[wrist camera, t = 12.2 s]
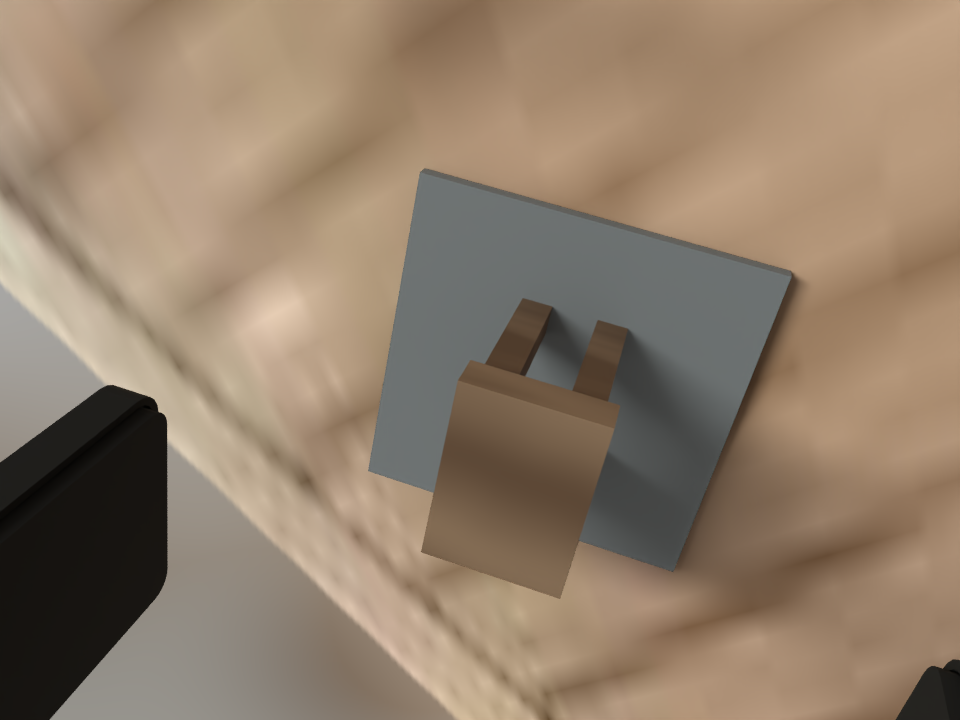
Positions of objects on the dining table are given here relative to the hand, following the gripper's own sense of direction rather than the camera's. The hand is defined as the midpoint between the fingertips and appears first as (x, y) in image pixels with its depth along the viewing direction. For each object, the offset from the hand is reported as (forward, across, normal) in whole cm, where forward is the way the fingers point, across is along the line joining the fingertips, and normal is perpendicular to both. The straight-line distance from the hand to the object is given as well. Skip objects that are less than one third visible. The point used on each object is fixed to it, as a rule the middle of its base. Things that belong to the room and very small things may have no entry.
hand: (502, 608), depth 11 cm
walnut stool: (+23, +2, +10) cm, 26 cm away
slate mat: (+24, +2, +10) cm, 26 cm away
